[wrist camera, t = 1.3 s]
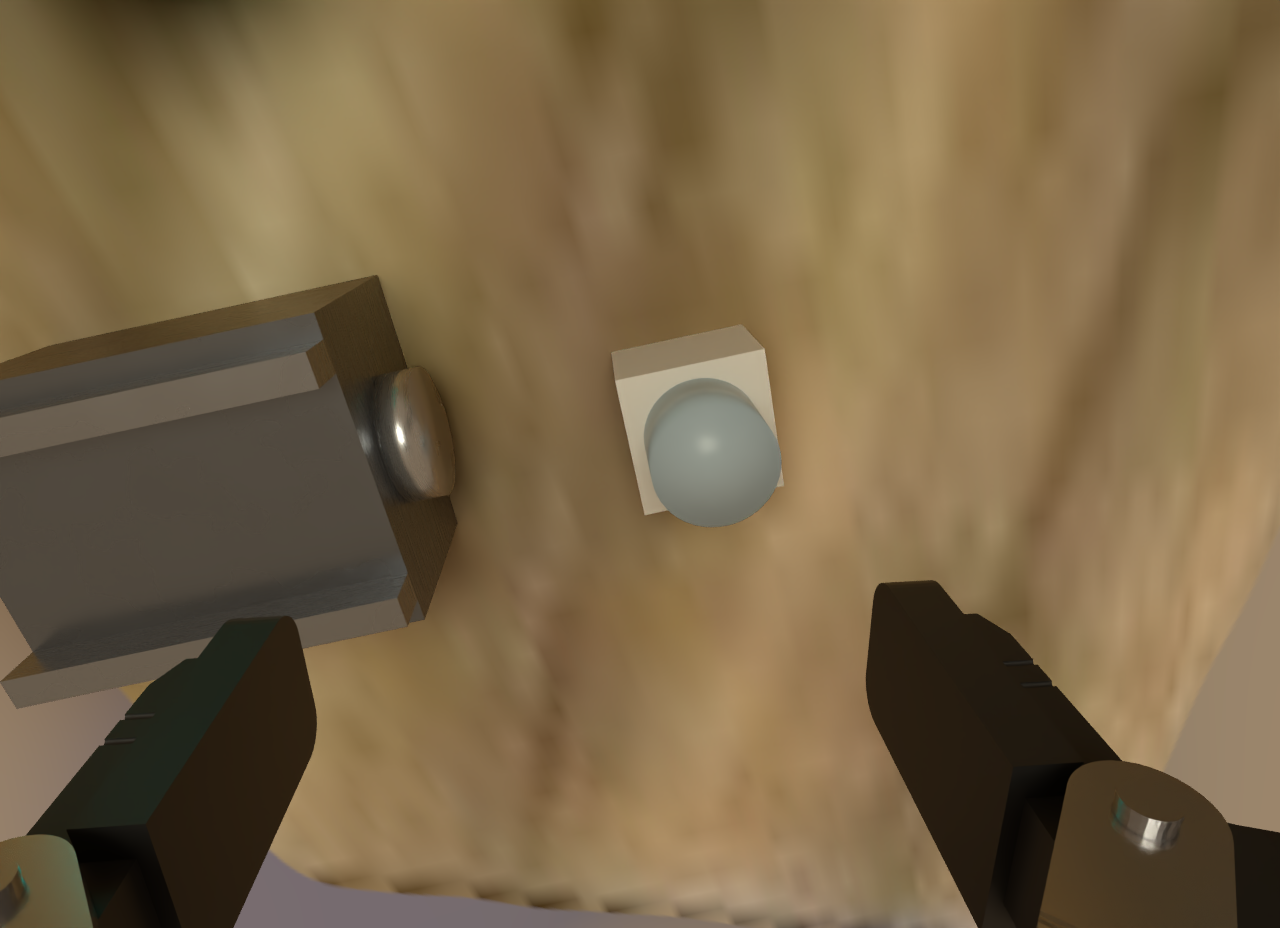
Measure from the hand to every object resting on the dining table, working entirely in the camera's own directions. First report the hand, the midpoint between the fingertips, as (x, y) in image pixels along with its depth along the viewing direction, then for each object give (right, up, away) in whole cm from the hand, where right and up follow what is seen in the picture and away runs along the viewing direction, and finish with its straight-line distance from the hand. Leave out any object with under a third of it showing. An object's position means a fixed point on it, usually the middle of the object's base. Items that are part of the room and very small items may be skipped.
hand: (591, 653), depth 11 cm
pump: (+3, +5, +19) cm, 20 cm away
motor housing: (-13, +4, +19) cm, 23 cm away
